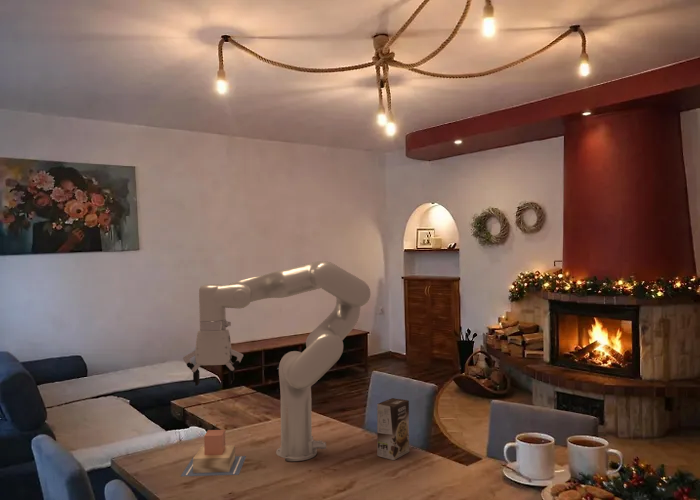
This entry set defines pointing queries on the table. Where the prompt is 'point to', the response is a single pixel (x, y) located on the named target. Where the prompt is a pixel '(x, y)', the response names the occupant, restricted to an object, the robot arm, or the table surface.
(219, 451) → the terracotta block
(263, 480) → the table surface
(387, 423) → the snack box
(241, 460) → the board
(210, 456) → the maple base block
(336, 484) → the table surface
